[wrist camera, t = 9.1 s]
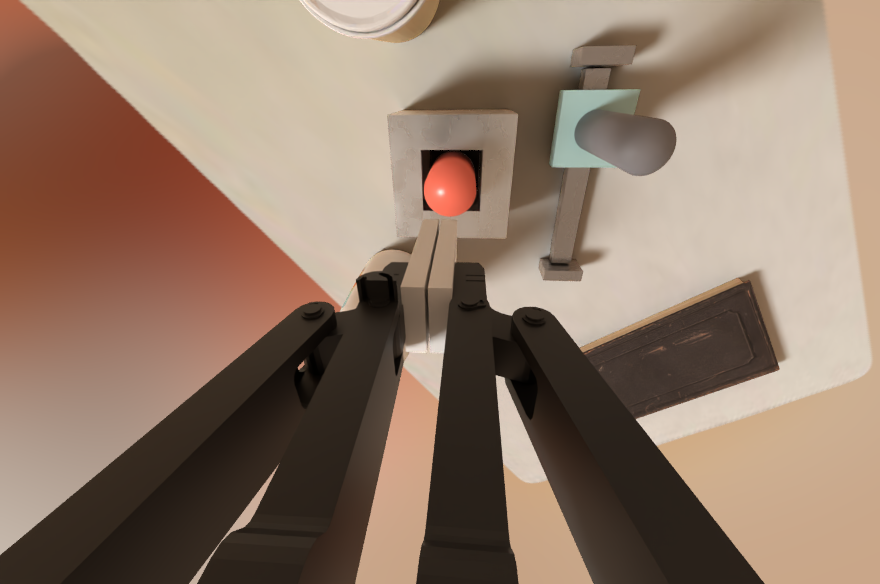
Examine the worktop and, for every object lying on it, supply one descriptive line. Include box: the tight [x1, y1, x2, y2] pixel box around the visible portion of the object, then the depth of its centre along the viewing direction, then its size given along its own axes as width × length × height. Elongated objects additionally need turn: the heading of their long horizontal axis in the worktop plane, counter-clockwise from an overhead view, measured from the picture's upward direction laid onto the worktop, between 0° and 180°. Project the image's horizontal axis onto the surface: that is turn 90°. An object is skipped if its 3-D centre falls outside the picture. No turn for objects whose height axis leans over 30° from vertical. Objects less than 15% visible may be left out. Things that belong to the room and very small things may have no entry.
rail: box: [539, 45, 636, 281], centre depth 33 cm, size 21×4×3 cm, turn 1°
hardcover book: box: [580, 278, 779, 419], centre depth 45 cm, size 16×23×2 cm
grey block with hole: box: [387, 109, 518, 239], centre depth 31 cm, size 10×10×7 cm
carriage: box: [549, 89, 676, 176], centre depth 26 cm, size 6×6×13 cm
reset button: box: [424, 151, 476, 217], centre depth 28 cm, size 4×4×6 cm
